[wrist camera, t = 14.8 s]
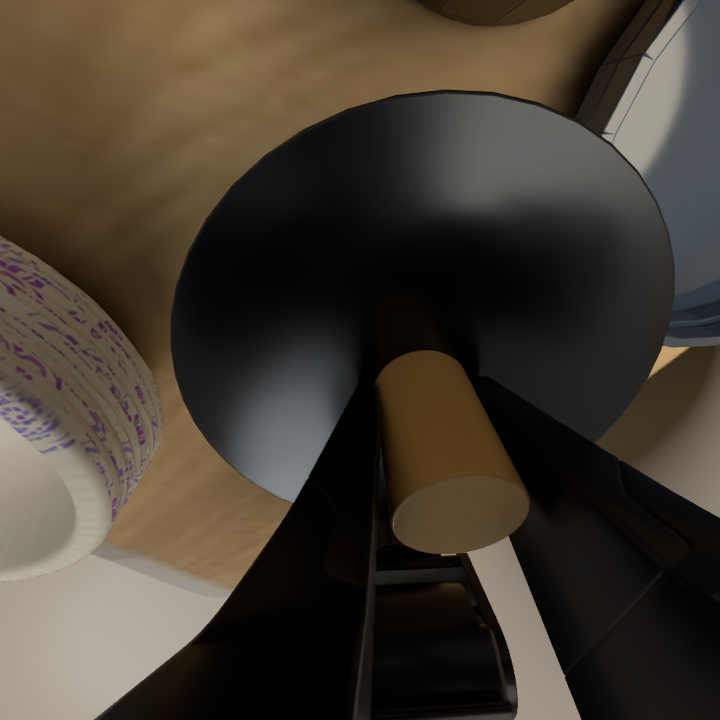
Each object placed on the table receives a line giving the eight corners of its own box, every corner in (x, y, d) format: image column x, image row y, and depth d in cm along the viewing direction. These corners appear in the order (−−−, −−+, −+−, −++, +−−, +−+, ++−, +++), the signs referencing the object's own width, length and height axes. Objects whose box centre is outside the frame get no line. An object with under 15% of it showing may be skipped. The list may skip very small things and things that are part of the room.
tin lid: (453, 523, 14) (495, 668, 11) (146, 435, 11) (37, 606, 7) (742, 276, 9) (1069, 393, 5) (295, -90, 5) (139, -837, 1)
